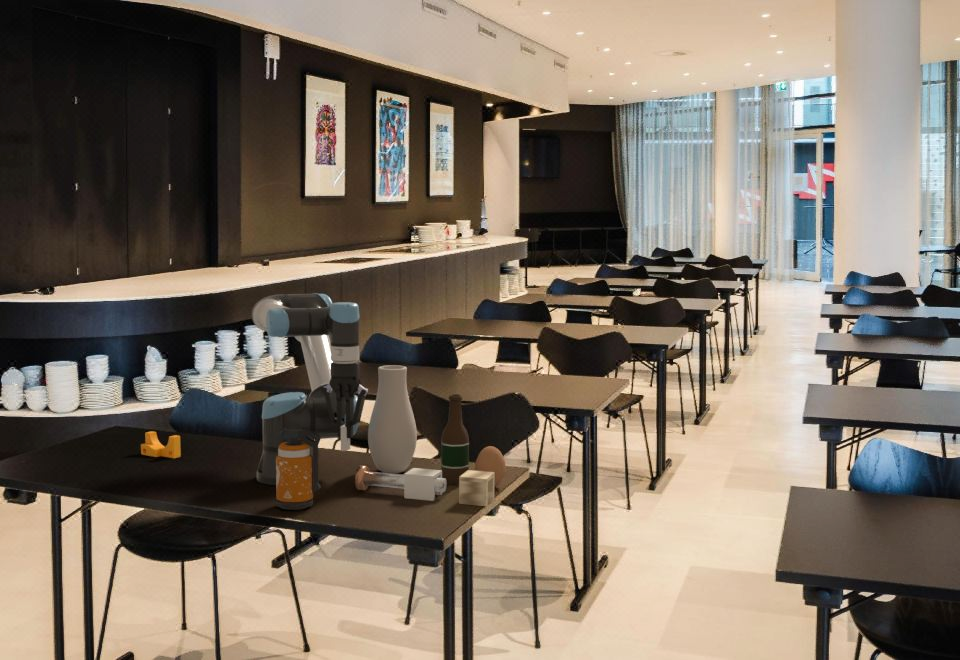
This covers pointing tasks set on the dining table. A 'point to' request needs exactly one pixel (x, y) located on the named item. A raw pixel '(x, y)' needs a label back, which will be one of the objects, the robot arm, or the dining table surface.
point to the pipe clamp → (161, 446)
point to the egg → (491, 463)
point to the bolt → (387, 480)
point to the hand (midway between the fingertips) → (345, 449)
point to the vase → (392, 422)
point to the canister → (297, 469)
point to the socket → (476, 488)
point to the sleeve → (421, 484)
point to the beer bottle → (454, 443)
